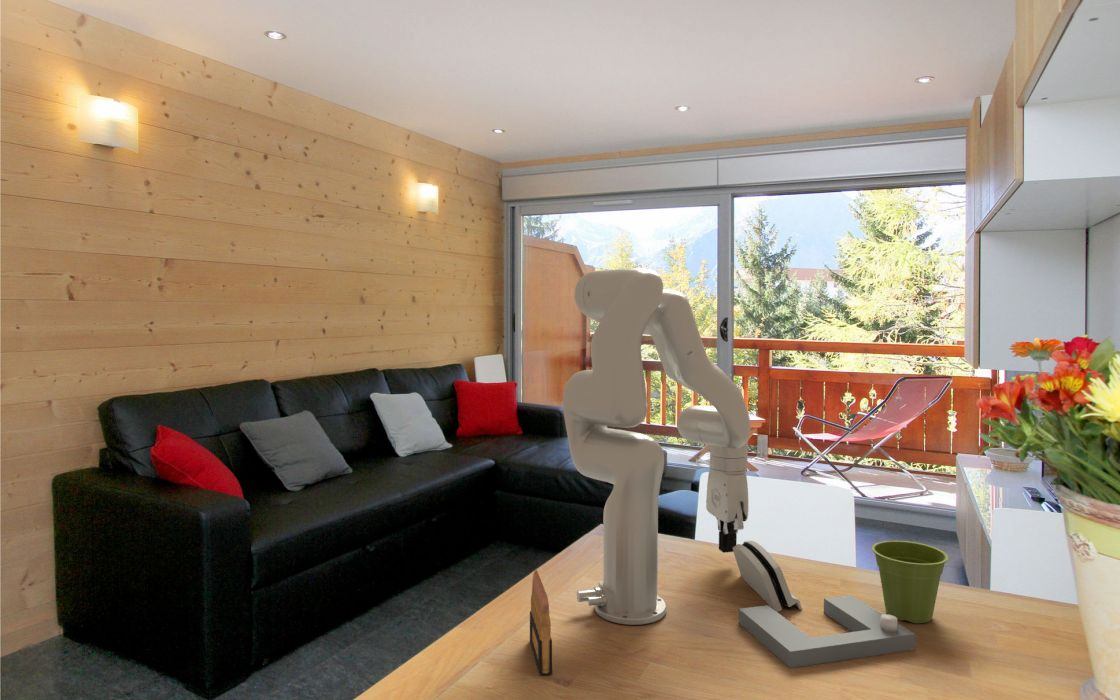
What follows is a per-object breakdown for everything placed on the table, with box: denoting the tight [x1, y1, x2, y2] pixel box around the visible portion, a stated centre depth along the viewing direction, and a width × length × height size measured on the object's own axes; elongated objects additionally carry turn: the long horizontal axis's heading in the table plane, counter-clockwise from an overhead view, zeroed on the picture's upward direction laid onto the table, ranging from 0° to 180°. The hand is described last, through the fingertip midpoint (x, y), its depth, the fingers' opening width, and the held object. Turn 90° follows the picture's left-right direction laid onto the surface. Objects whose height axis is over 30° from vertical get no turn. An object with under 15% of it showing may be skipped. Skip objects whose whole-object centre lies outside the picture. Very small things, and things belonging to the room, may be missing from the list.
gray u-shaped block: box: [738, 594, 916, 669], centre depth 110 cm, size 22×15×4 cm
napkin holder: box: [529, 569, 553, 676], centre depth 103 cm, size 11×2×12 cm, turn 10°
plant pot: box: [871, 540, 949, 624], centre depth 117 cm, size 12×12×11 cm
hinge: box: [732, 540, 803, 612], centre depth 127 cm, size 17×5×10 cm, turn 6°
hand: (727, 550), depth 140 cm, fingers closed
